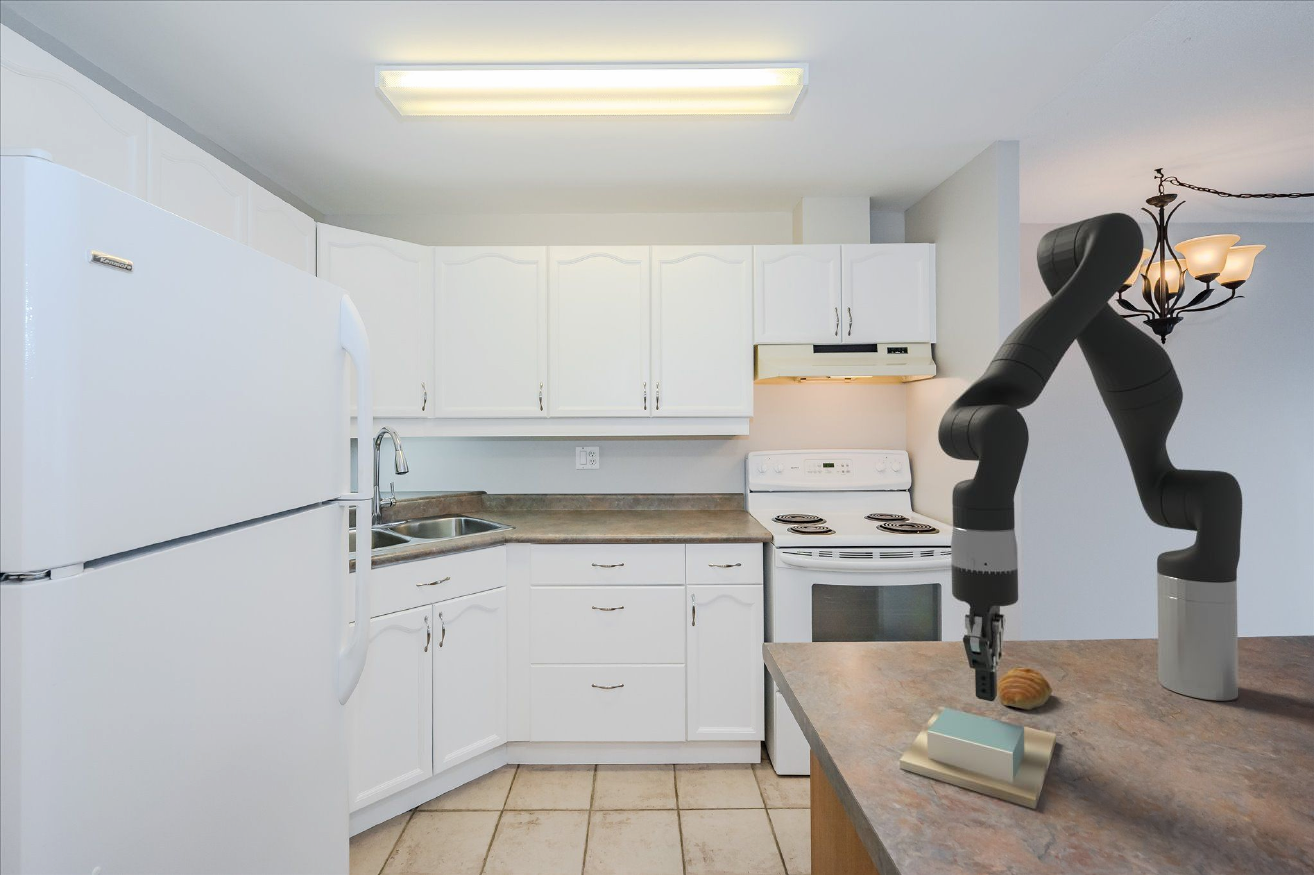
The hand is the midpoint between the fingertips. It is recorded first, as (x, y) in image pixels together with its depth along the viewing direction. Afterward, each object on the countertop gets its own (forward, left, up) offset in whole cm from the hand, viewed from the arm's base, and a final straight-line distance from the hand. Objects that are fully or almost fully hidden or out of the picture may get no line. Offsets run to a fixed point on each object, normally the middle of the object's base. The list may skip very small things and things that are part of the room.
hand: (986, 697), depth 81 cm
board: (+3, 0, -6) cm, 7 cm away
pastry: (-18, +2, -6) cm, 19 cm away
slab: (+2, 0, -3) cm, 4 cm away
